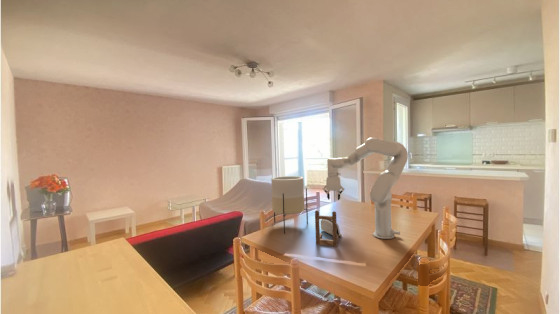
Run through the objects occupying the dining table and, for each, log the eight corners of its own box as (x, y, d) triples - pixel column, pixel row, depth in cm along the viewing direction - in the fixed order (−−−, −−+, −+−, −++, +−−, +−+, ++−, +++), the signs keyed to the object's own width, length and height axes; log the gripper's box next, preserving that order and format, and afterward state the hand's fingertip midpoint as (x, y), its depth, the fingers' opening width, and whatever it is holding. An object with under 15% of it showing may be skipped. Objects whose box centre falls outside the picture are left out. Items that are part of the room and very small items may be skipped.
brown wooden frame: (339, 239, 141) (338, 207, 141) (337, 246, 131) (336, 212, 131) (319, 237, 146) (318, 206, 145) (315, 244, 135) (314, 210, 135)
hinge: (342, 237, 146) (340, 221, 145) (336, 239, 144) (334, 223, 143) (326, 229, 161) (324, 215, 160) (321, 231, 159) (319, 217, 158)
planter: (293, 235, 152) (292, 180, 151) (261, 229, 166) (259, 179, 165) (310, 224, 174) (308, 176, 174) (280, 219, 188) (278, 175, 188)
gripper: (345, 174, 168) (346, 198, 168) (322, 174, 174) (322, 198, 174) (344, 175, 161) (345, 201, 161) (320, 175, 167) (320, 200, 167)
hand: (333, 199), depth 167 cm, fingers open, 6 cm apart
